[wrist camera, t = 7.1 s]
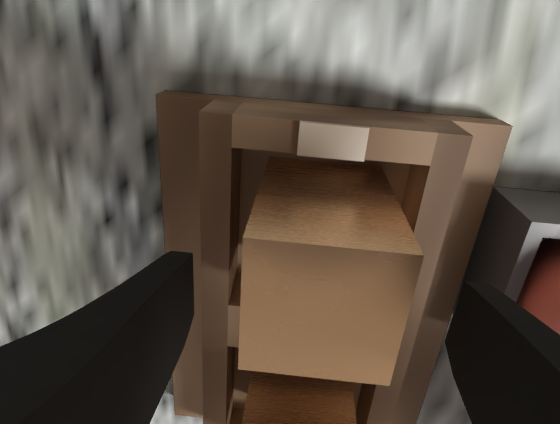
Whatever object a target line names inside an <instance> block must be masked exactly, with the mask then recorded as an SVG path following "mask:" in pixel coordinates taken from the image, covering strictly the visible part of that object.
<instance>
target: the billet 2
mask: <svg viewBox="0 0 560 424" xmlns="http://www.w3.org/2000/svg"><path fill="white" fill-rule="evenodd" d="M242 424H357V422H356V413H355V404H354V395H353V386H352V382H348V381H339V380H330V379H321V378H312V377H303V376H294V375H285V374H276V373H267V372H258V371H251V375H250V380H249V386H248V392H247V397H246V403H245V409H244V414H243V420H242Z"/></svg>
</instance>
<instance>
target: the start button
mask: <svg viewBox="0 0 560 424" xmlns="http://www.w3.org/2000/svg"><path fill="white" fill-rule="evenodd" d="M516 303H517V304H519V305H520V306H521V307H523V308H524V309H525V310H527V311H528V312H529V313H531V314H532V315H534V316H535V317H536V318H538V319H539V320H540V321H542V322H543V323H544V324H546V325H547V326H548V327H550V328H551V329H552V330H554V331H555V332H557V333H558V334H559V335H560V239H554V238H547V239H545V240H543V241H541V243H540V245H539V247H538V250H537V252H536V255H535V257H534V260H533V262H532V265H531V267H530V270H529V272H528V275H527V277H526V279H525V282H524V284H523V287H522V289H521V292H520V294H519V297H518V299H517V302H516Z"/></svg>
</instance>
